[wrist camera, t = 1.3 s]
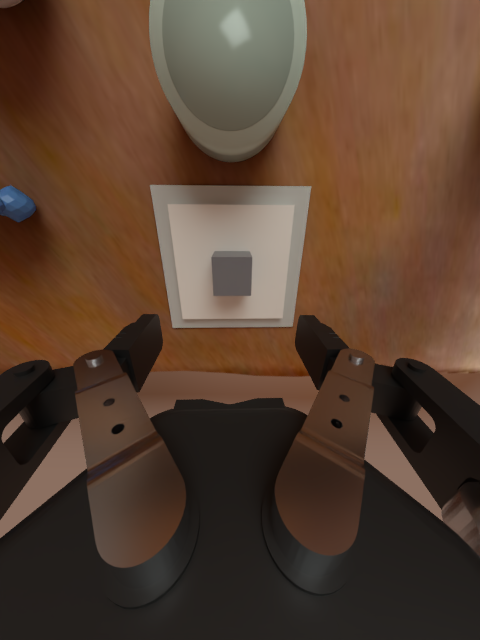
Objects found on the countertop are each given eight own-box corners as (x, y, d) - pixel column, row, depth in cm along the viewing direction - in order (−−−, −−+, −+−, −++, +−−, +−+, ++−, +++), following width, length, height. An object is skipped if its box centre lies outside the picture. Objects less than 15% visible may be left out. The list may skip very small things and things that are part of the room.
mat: (310, 186, 25) (311, 186, 25) (292, 325, 33) (292, 326, 33) (150, 185, 24) (150, 184, 24) (173, 326, 33) (172, 327, 33)
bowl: (289, 19, 19) (320, -91, 12) (278, 165, 24) (296, 145, 17) (168, 15, 19) (131, -99, 12) (183, 164, 24) (162, 143, 17)
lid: (292, 205, 26) (306, 202, 21) (281, 315, 32) (289, 333, 27) (169, 204, 25) (154, 201, 20) (184, 316, 32) (174, 334, 27)
